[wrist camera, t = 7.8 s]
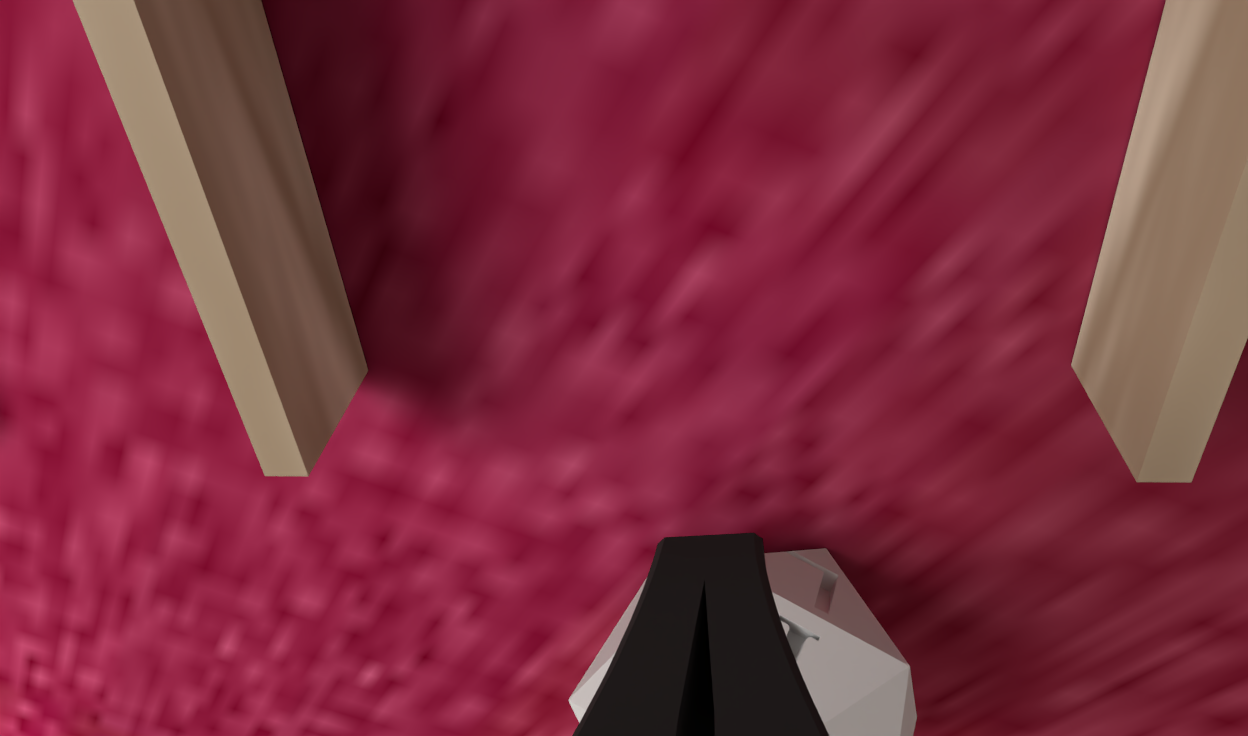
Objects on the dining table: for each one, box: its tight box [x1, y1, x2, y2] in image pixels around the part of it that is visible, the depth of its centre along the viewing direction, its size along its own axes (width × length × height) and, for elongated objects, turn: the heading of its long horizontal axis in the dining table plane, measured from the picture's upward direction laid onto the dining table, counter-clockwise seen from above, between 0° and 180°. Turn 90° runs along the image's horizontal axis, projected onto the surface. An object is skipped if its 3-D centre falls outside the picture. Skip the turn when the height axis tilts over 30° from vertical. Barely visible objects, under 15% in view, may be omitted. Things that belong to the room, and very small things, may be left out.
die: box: [569, 548, 917, 736], centre depth 23 cm, size 8×9×10 cm
